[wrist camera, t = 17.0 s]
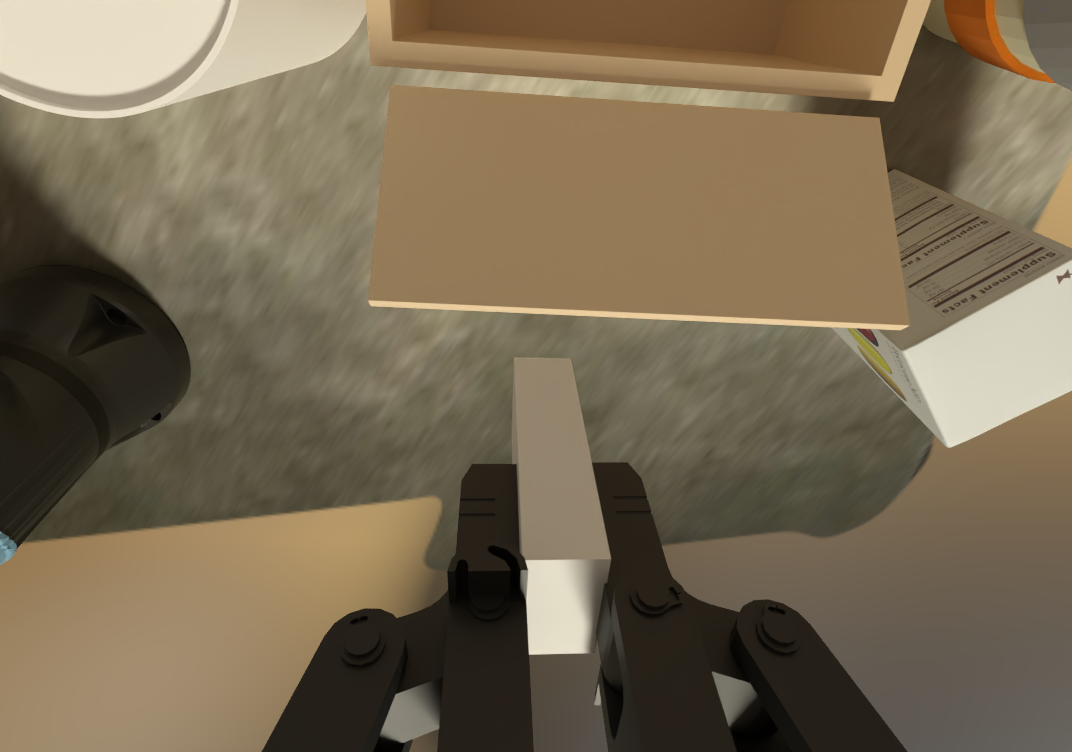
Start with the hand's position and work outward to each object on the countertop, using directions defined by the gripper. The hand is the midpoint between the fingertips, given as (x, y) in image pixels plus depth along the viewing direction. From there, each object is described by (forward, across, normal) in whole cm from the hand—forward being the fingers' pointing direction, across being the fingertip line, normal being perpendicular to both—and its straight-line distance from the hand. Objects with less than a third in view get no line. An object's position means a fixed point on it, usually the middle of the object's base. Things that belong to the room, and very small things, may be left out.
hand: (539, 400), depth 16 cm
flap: (+11, +5, +2) cm, 12 cm away
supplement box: (+30, +27, -6) cm, 41 cm away
